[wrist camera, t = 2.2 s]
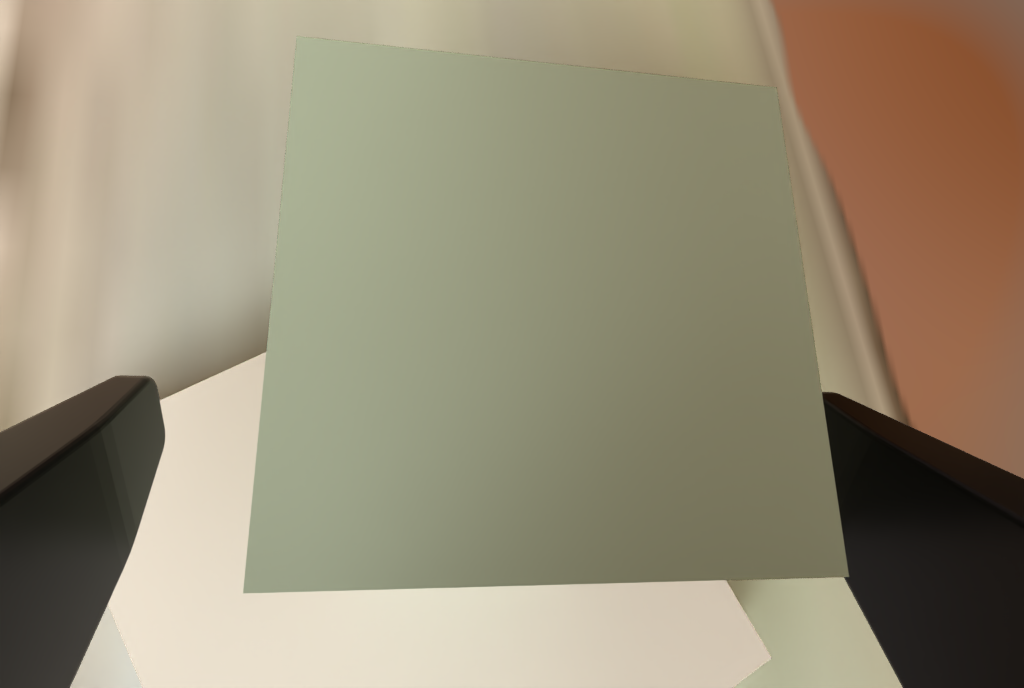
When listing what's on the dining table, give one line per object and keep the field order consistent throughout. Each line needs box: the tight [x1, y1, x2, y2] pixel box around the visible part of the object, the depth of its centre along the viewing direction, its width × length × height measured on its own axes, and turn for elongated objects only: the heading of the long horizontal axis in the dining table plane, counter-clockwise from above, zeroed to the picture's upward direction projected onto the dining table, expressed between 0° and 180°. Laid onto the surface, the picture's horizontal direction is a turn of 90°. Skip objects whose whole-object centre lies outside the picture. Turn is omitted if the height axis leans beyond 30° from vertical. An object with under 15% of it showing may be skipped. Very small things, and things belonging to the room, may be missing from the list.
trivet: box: [108, 352, 772, 688], centre depth 15 cm, size 12×12×2 cm
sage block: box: [243, 36, 849, 593], centre depth 11 cm, size 5×5×10 cm
